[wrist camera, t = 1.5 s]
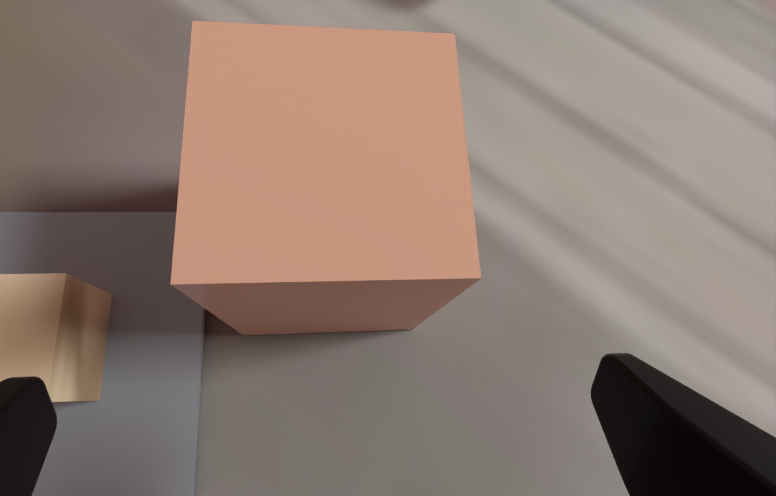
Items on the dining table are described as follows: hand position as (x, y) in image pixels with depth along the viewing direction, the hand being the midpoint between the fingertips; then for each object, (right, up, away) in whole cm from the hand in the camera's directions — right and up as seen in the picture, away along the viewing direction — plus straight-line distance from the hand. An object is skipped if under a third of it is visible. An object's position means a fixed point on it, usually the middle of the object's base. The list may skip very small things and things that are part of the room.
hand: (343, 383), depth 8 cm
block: (-12, -2, +10) cm, 16 cm away
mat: (-12, -2, +11) cm, 16 cm away
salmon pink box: (-2, +2, +13) cm, 13 cm away
